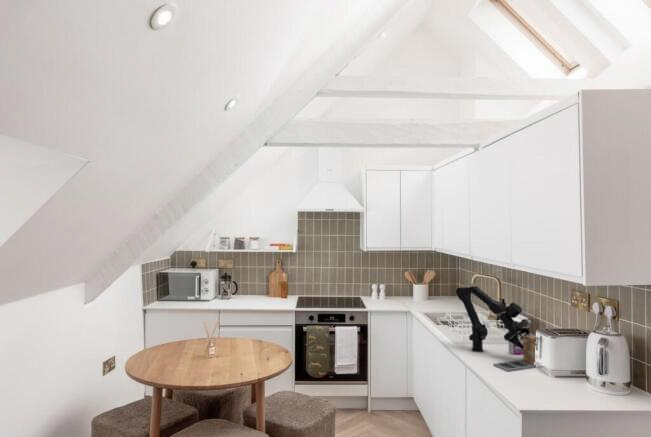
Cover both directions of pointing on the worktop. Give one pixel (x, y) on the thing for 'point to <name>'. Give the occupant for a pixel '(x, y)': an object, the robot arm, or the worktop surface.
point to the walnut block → (529, 349)
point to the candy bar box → (515, 349)
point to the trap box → (514, 365)
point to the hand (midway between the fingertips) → (527, 347)
